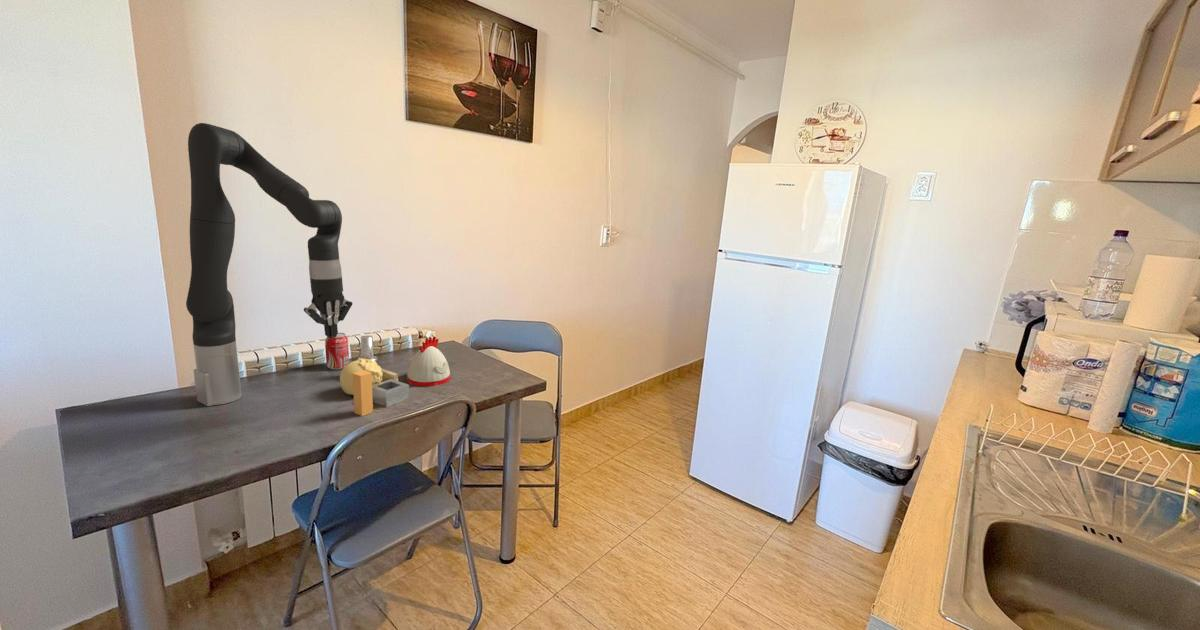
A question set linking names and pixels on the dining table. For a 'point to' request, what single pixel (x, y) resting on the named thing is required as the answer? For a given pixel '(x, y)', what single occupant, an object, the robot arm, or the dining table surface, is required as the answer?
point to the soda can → (337, 352)
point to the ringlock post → (367, 348)
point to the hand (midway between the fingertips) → (331, 337)
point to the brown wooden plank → (389, 375)
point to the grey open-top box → (390, 392)
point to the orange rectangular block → (362, 392)
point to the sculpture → (357, 366)
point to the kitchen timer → (428, 366)
